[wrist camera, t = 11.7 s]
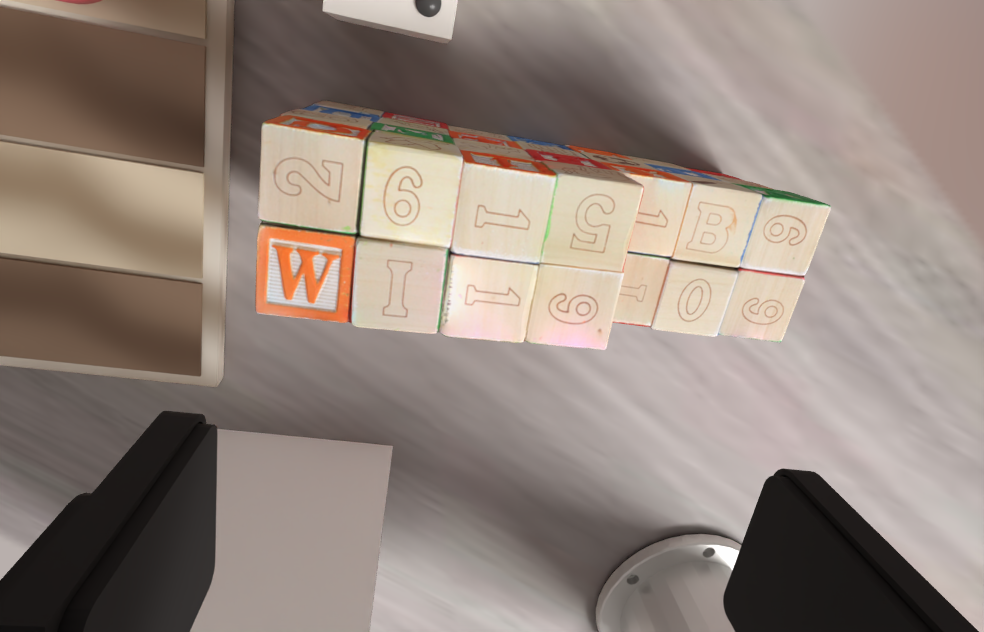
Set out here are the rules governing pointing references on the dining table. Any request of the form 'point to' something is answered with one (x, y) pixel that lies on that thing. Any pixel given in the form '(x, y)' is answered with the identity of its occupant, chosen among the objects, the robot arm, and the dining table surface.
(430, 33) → the die
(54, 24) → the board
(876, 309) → the dining table surface
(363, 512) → the milk
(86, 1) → the pawn
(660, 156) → the dining table surface
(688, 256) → the stack of blocks
